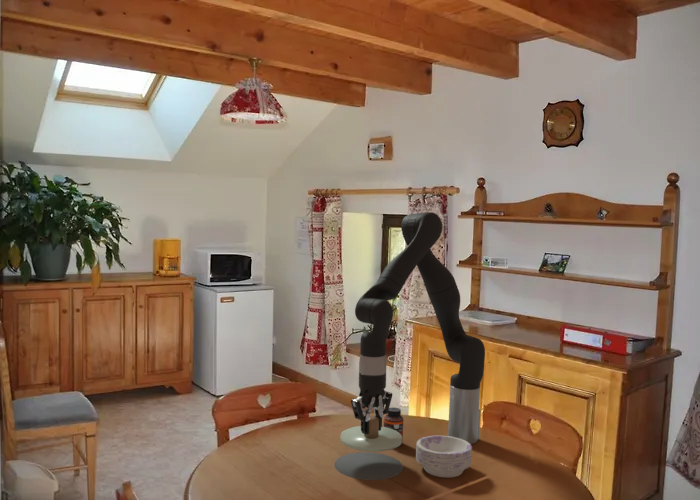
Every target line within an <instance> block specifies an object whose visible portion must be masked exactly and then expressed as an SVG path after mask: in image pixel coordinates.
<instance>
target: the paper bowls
mask: <svg viewBox="0 0 700 500" xmlns="http://www.w3.org/2000/svg"><path fill="white" fill-rule="evenodd" d="M415 444H416V447H415V461H416V463H418V464H419V465H420V466H422V467H423V469H424V471H425V472H426V473H427V474H429V475H431V476H433V477H439V478H456V477H459V476H460V475H462V474H463V473H464V471H465V470H466V469H469V468H470V467H471V465H472V463H473V462H472V460H473V459H472V458H473V446H472V444H470V443H468V442H467V441H465V440H463V439H460V438H456V437H451V436H448V435H429V436H424V437H421V438H419V439H418V440H417V441H416V443H415Z"/></svg>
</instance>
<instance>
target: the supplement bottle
mask: <svg viewBox="0 0 700 500" xmlns="http://www.w3.org/2000/svg"><path fill="white" fill-rule="evenodd" d="M383 427H387V428H390V429H393V430H395V431H397V432H399V433H400V434H401V436H402V443H401V445H400V446H398V447H397V448H400V447H402V446H403V443H404V442H403V441H404V440H403V438H404V417H403V415H402V411H401V409H400V408H399V407H389V410H388V413H387V414H385V415H384V416H383Z"/></svg>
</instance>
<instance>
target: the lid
mask: <svg viewBox="0 0 700 500" xmlns="http://www.w3.org/2000/svg"><path fill="white" fill-rule="evenodd" d="M368 421H369V434H367V435H366V434H363V433H362V432H361V425H357V426H356V425H355V426H352V427H349V428H347V429H345V430H343V431H341V433H340V442H341V444H343V445H344V446H346V447H347V448H350V449H353V450H357V451H361V452H371V453H378V452H385V451H390V450H394V449H396V448H399V447H398V446H400V445H401V443H402V436H401V434H400V433H399V432H397V431H395V430H393V429H390V428H387V427H384V426H382V428H381V430H380V431H379V418H378V417H376V415H370V416H369V420H368ZM402 444H403V443H402ZM400 447H401V446H400Z"/></svg>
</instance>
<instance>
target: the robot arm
mask: <svg viewBox="0 0 700 500" xmlns="http://www.w3.org/2000/svg"><path fill="white" fill-rule="evenodd" d="M400 228H401V234H402V237H403V239H404V242H405V243H406V244H405V245H406V247H405V248H404V249H403V250H402V251H401V252H400V253H398V254H397V255H396V256H395V257H394V258H393V259H392V260H390V262H388V263H387V265H386V266H385V267H384V269H383V271H382V272H381V274H380V275H379V277H378V279H377V280H376V283H374V284H373V285H371V287H370V288H369V289H368V290H366V291H365V292H364V293H363V294H362V296H361V297H360V298H359V299H358V300H357V302H356V305H355V309H354V315H355V318H356V319H357V320H358V321H359V322H361V323H364V324H371V325H373V327H372V329H371V331H367V332H364V333H362V334H361V336H360V349H359V350H360V351H359V354H360V355H359V361H358V388H359V394H358V396H357V398H351V400H350V404H351V408H352V411H353V412H352V413H353V416H354V418H355V419H357V420H359V421H360V426H361V432H362V433H363V434H366V435H367V434H369V421H368V420H369V416H371V415H370V414H372V412H373V414H374V416H376V417H378V418H379V431H380V430H381V428H382V427H383V418H384V416H385V415H387V414H388V410H389V408H390V406H391V402H392V398H393V393H392V392H390V391H386V390H385V389H386V388H387V356H386V355H387V354H386V353H387V338H388V334H389V331H390V328H391V324H392V322H393V321H392V320H393V319H394V318H393V316H394V310H393V309H394V308H393V306H392V305H391V303H390V301H392V300H394V299H396V298H397V297H398V296H399V294H400V292H401V291H402V289H403V287H404V285H405V284H406V282H407V280H408V279H409V277H410V275H411V274H412V273H413V271H414V269H416V268H417V269H418V271H419V272H418V273H420V276H421V279H422V281H423V284H424V287H425V290H426V292H427V295H428V299H429V301H430V303H431V305H432V308H433V311H434V313H435V316H436V318H437V322H438V324H439V326H440V330H441V334H442V338H443V343H444V346H445V350H446V352H447V355H448V357H449V358H450V359H451V360H452V361H454V362H456V363H458V364H459V369H458V373H455V374H451V376H450V382H449V383H450V384H449V385H450V386H449V403H448V405H449V406H448V407H449V408H448V428H447V429H448V430H447V436H451V437H456V438H460V439H463V440H465V441H467V442H468V443H470V444H471V445H474V444H476V443H477V442H478V440H480V430H481V429H480V428H481V409H480V393H481V382H482V380H483V377H484V369H485V358H486V349H485V348H486V346H485V344H484V342H483V341H482V340H481V339H480V338H478V337H475V336H472V335H470V334H467V333H466V331H465V330H464V328H463V325H462V323H461V319H460V309H461V308H460V307H461V293H460V290H459V288H458V285H457V282H456V279H455V277H454V275H453V273H451V271H450V270H449V269H448V268H447V267H446V266H445V265H444V264H443V263H442V262H441V261H440V260H439V259H438V257H436V255H435V254H434V252H433V251H432V249H431V248H432V247H434V245H435V244H436V243H437V241H439V239H440V237H441V235H442V233H443V232H442V231H443V222H442V220H441V218H440V216H439V215H438V213H435V212H431V211H427V212H426V211H425V212H418V213H412V214H407V215H405V216H404V217H403V219H402V221H401V227H400Z"/></svg>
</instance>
